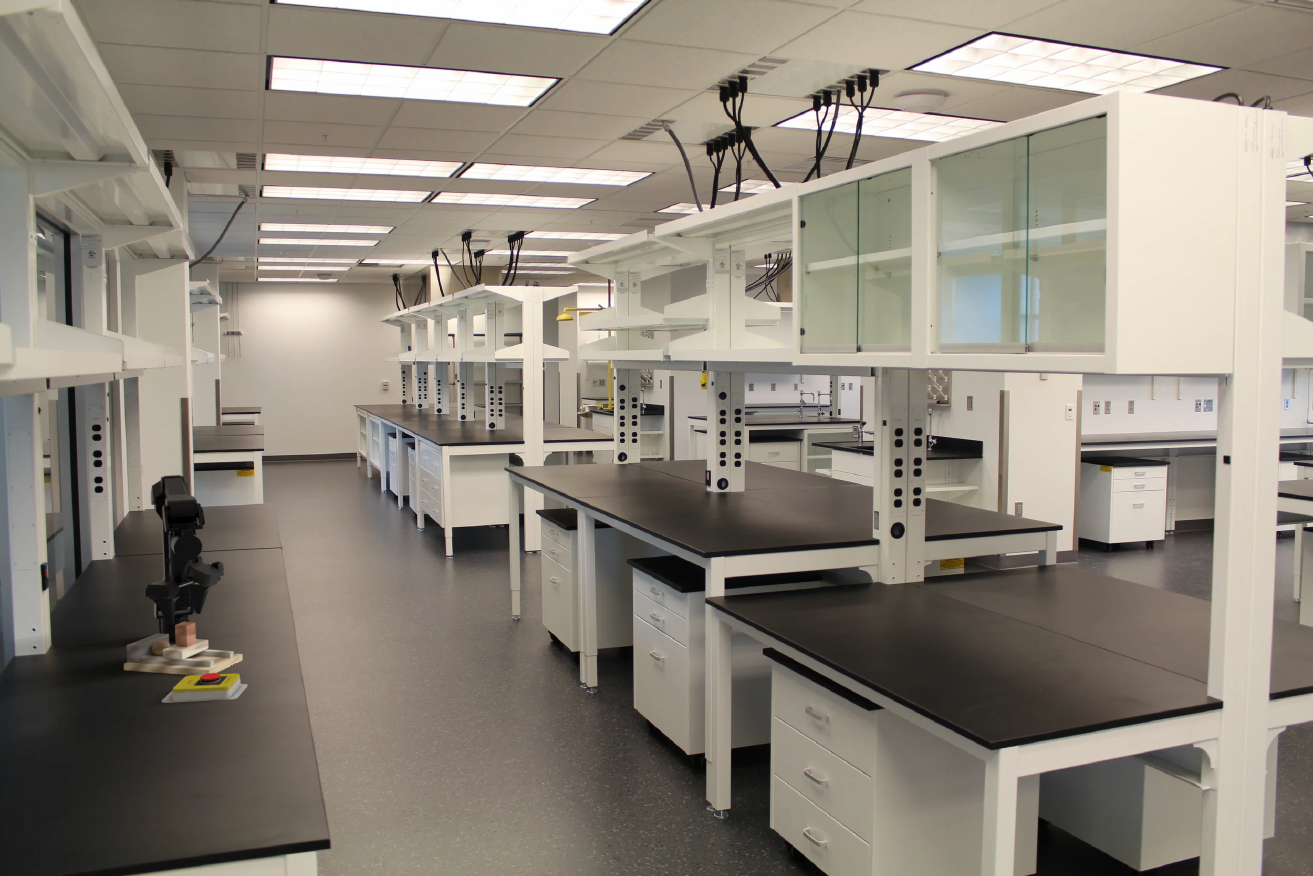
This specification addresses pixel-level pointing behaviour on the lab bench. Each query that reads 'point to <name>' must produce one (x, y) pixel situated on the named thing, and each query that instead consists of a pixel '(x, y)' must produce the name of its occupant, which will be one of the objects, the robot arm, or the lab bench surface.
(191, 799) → the lab bench surface
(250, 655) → the lab bench surface
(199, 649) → the slider
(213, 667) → the press bed
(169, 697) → the emergency button
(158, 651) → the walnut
